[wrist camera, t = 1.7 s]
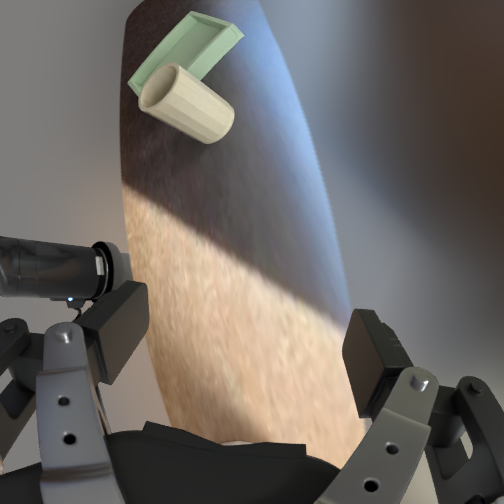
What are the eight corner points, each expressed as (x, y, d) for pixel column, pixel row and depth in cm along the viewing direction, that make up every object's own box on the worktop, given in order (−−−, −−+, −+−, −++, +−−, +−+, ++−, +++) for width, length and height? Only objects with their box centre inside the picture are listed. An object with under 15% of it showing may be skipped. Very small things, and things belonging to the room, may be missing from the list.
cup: (209, 152, 33) (148, 120, 25) (188, 129, 36) (132, 98, 27) (243, 115, 32) (188, 72, 23) (218, 95, 34) (166, 56, 25)
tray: (166, 121, 39) (151, 113, 36) (139, 89, 44) (127, 82, 42) (244, 35, 33) (233, 23, 30) (201, 20, 39) (191, 10, 36)
